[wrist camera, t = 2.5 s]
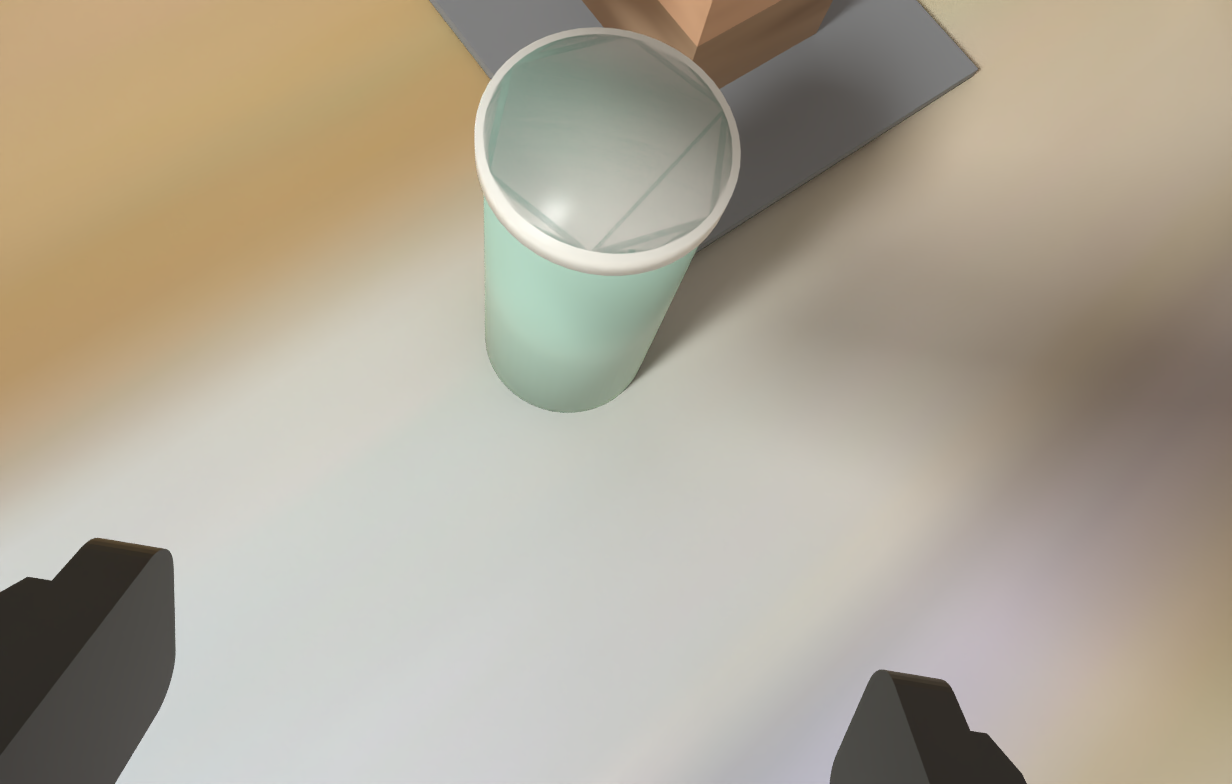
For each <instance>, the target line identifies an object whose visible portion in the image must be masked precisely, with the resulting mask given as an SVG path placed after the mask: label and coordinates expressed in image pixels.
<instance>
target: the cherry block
mask: <svg viewBox="0 0 1232 784" xmlns="http://www.w3.org/2000/svg"><path fill="white" fill-rule="evenodd" d="M658 1H659V2H660V3H661V4H662V5H663V7H664V8H665V9H666V10H667V11H668V13H669V14H670V15H671V16H672V17H673V19H674V20H675V21H676V22H677V23H678V25H679V26H680V27H681V28H682V29H683V31H684V32H685V33H686V34H687V35H688V37H689V38H690V39H691V40H692V41H693V43H694V44H695V45H696V46H697V47H698V46H700V45H702V44H704V43H705V42H707V41H709V40H711V39H713V38H714V37H716V36H718V35H720V34H722V33H723V32H725V31H727V30H729V29H731V28H732V27H734V26H736V25H738V24H740V23H741V22H743V21H745V20H747V19H749V18H750V17H752V16H754V15H756V14H758V13H759V12H761V11H763V10H765V9H767V8H768V7H770V6H772V5H774V4H776V3H777V2H779V1H781V0H658Z"/></svg>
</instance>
